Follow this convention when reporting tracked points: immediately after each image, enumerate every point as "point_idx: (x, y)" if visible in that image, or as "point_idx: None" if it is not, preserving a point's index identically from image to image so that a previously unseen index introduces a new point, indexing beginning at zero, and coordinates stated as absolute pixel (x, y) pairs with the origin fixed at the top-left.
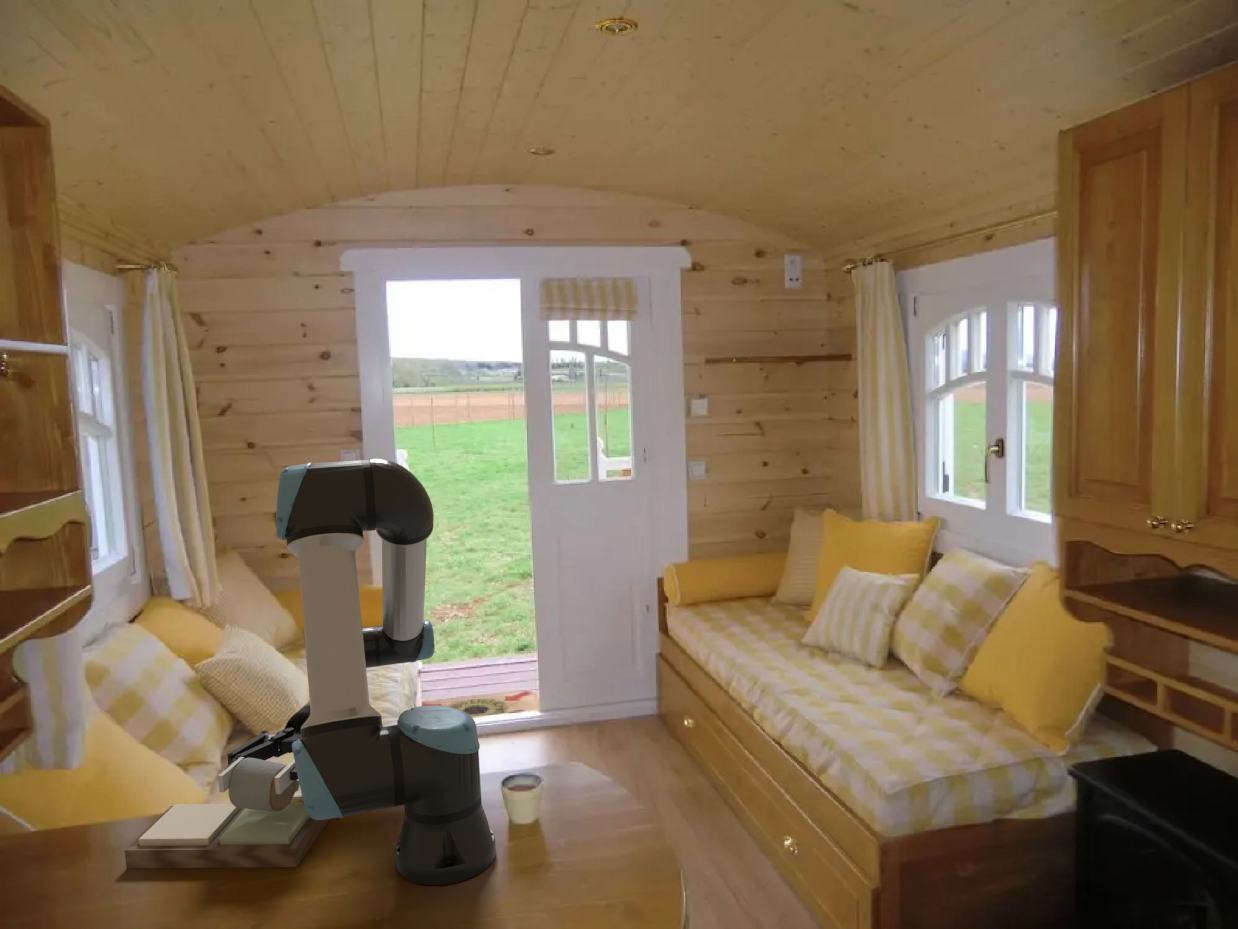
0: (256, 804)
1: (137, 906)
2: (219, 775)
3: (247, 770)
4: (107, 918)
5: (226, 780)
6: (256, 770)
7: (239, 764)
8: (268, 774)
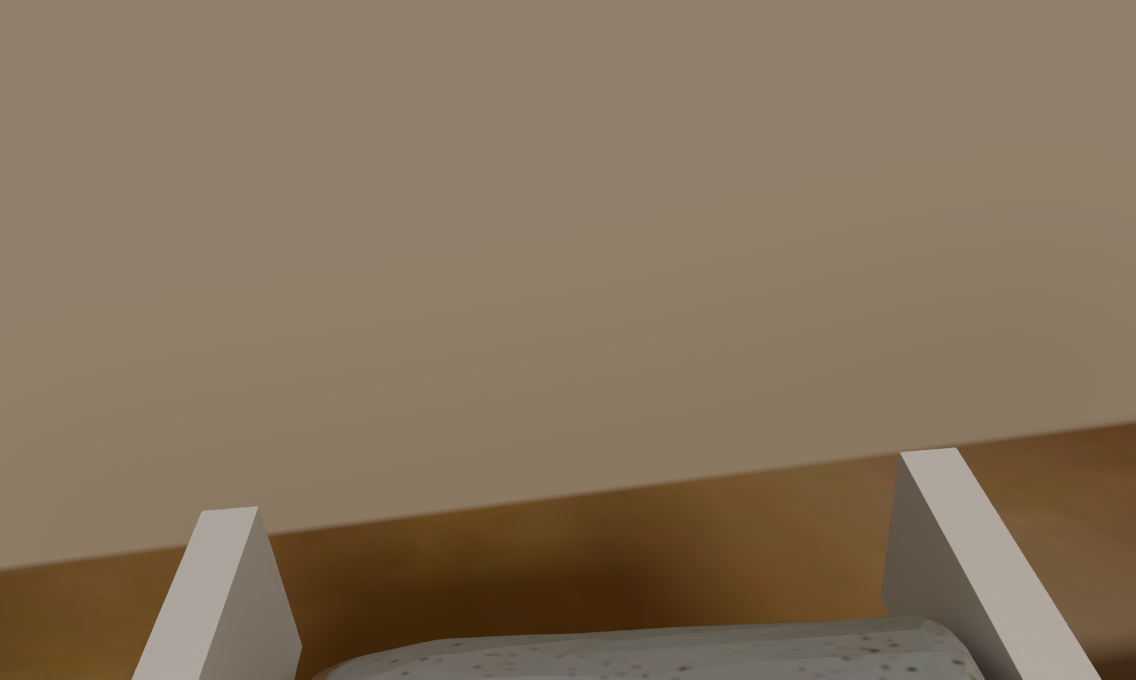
0: None
1: None
2: (943, 449)
3: (737, 636)
4: (963, 447)
5: (912, 565)
6: (607, 654)
7: (938, 660)
8: (412, 652)
